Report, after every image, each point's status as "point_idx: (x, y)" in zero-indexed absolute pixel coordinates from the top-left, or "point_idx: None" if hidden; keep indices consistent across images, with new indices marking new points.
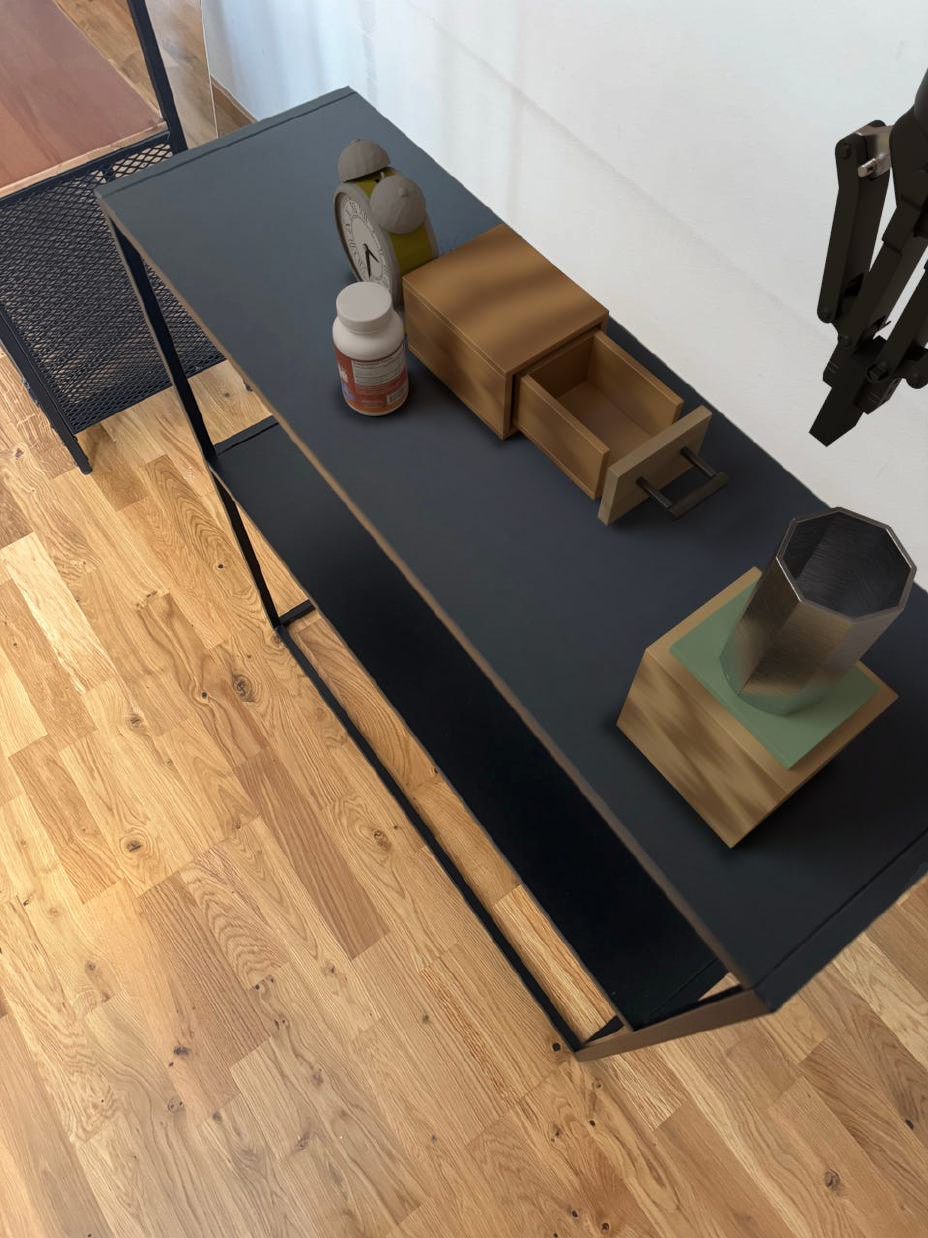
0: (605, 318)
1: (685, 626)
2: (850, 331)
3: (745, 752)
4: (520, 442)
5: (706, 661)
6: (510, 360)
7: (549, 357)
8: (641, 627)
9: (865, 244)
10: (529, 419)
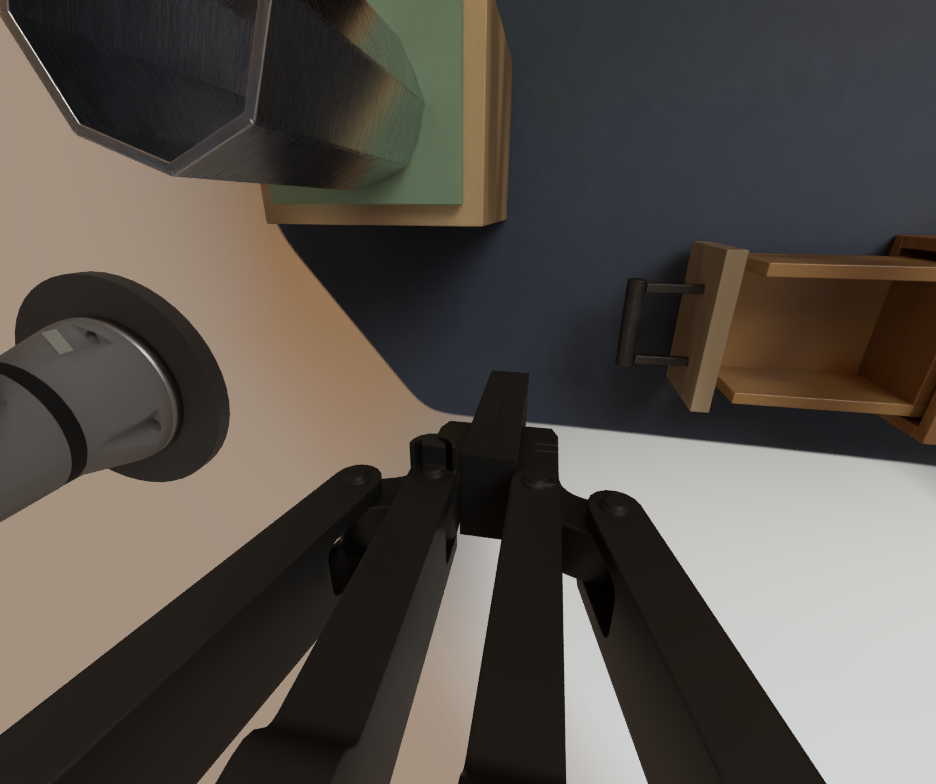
0: (916, 433)
1: (476, 60)
2: (535, 497)
3: None
4: (870, 252)
5: (410, 24)
6: None
7: None
8: (575, 181)
9: (646, 723)
10: (894, 259)
